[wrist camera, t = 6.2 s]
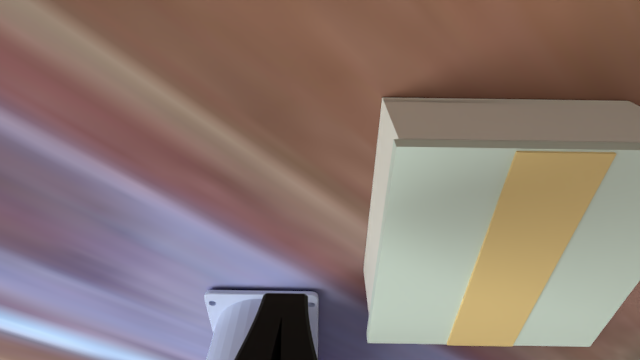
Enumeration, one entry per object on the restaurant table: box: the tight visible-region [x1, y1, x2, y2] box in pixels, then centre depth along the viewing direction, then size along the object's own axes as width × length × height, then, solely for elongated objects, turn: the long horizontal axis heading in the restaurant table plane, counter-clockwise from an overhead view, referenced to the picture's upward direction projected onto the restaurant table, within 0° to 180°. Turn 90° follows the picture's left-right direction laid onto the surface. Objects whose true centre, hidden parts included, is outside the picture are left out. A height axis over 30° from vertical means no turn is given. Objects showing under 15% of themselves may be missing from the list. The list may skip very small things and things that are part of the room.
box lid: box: [367, 139, 640, 347], centre depth 16 cm, size 12×12×1 cm
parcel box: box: [363, 97, 640, 312], centre depth 19 cm, size 12×12×4 cm
